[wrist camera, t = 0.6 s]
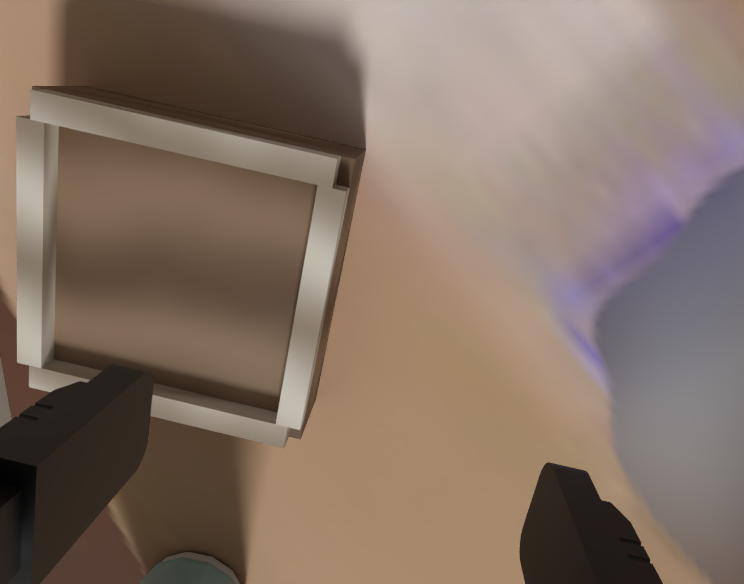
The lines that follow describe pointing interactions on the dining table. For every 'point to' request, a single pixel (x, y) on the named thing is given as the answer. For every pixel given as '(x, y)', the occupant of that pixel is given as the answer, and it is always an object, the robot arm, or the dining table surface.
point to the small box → (3, 400)
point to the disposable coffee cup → (190, 571)
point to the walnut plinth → (180, 256)
